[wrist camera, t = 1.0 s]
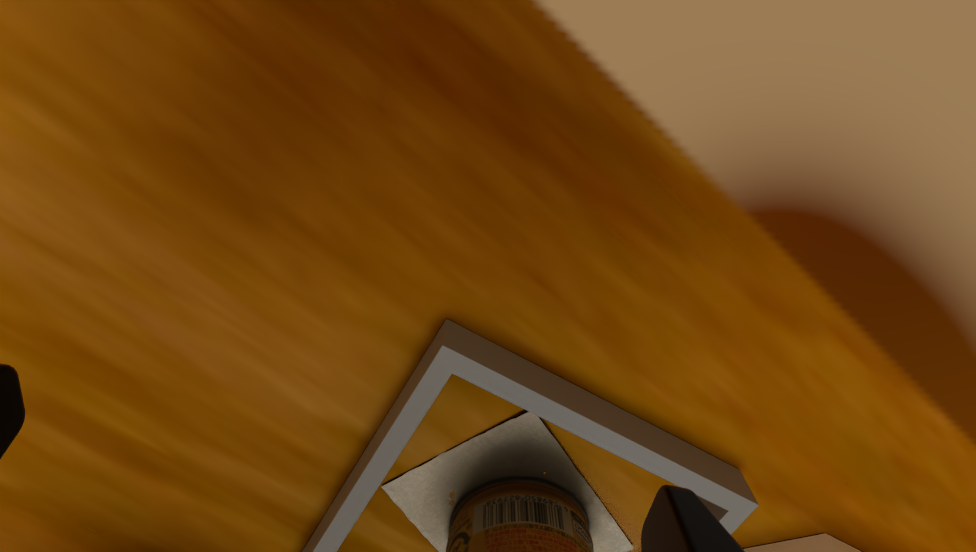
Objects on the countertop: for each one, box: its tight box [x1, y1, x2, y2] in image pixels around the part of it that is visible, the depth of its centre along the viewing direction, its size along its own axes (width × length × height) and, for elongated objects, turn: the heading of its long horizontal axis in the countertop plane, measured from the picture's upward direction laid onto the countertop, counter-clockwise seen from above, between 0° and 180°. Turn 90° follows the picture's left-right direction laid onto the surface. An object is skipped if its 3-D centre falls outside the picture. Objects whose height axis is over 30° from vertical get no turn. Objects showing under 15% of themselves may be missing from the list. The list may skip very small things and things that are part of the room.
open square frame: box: [302, 319, 758, 552], centre depth 26 cm, size 14×14×2 cm
